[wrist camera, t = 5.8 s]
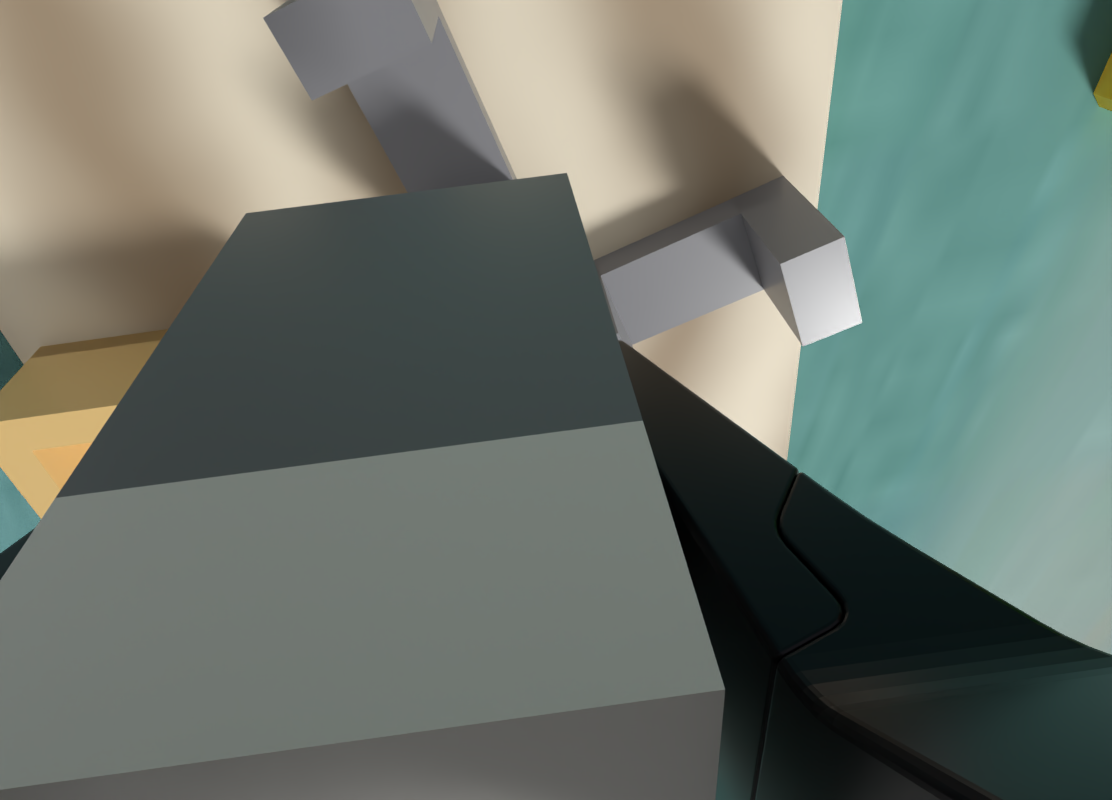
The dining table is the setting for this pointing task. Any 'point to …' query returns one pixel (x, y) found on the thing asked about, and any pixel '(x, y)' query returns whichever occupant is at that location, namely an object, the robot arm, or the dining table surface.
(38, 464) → the end holder
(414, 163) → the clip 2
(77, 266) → the board
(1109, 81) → the dish sponge
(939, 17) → the dining table surface
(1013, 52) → the dining table surface
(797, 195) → the clip
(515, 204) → the connector plug
